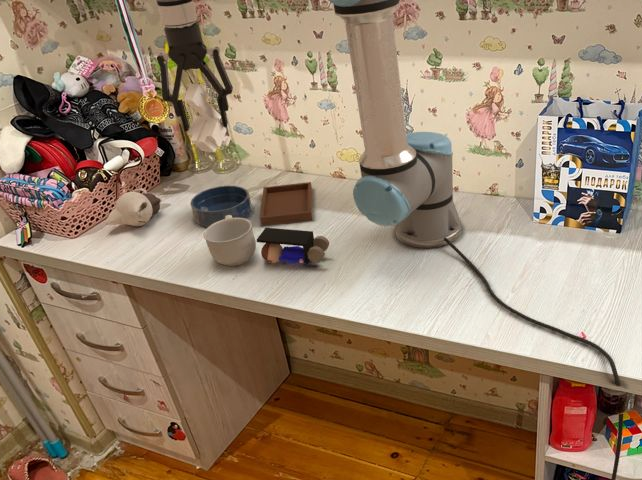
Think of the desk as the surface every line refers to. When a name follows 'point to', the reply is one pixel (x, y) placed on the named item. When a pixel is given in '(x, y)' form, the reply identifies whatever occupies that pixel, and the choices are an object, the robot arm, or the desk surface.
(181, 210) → the desk surface
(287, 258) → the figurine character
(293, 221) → the tray
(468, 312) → the desk surface
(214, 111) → the beige irregular angular piece
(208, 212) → the bowl
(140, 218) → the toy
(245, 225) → the teacup
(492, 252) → the desk surface
